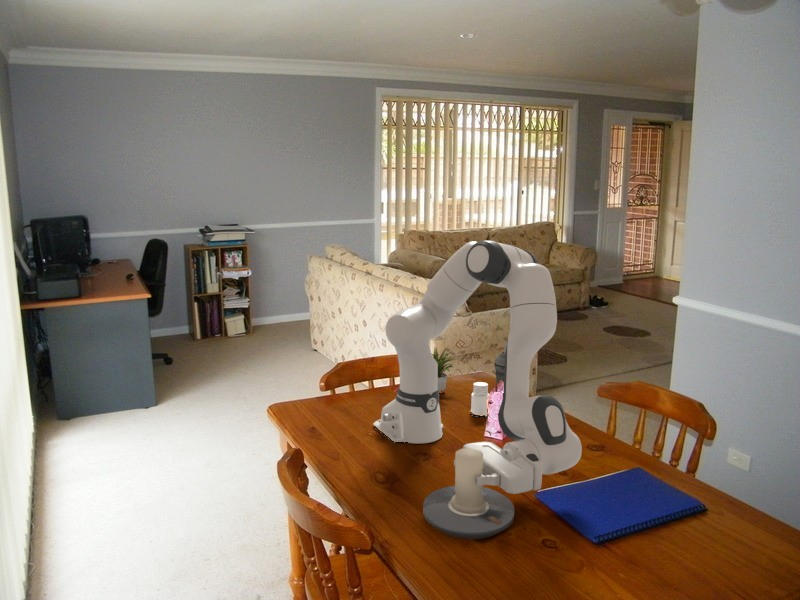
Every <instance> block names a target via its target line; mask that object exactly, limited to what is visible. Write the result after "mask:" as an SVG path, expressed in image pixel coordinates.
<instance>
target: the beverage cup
mask: <svg viewBox="0 0 800 600" xmlns="http://www.w3.org/2000/svg"><path fill="white" fill-rule="evenodd" d="M506 346H507V340H505V341H504V351H503V352H499V353H498V354H497V356H496V357H495V360H494V363H493V364H494V370H495V379H496V380H495V384H496V386H497V384H498V383H499V381H500V380H502V381H503V382H504V371H505V353H506Z"/></svg>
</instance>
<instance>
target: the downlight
mask: <svg viewBox="0 0 800 600" xmlns="http://www.w3.org/2000/svg"><path fill="white" fill-rule="evenodd" d="M472 386H473V387H472V388H473V391H472V393H471V394H470V396H471V397H470V398H471V401H470V402H471V404H470V405H471V406H470V407H471V408H470V411H471V412H472V413H473V414H475V415H480V416H483V415H485V417H488V416H487V406H486V400H487V396H488V395H489V394H490V393H489V388H488V387H489V384H488V383H487V382H484V381H483V382H482V381H478V382H474V383H473V385H472Z"/></svg>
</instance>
